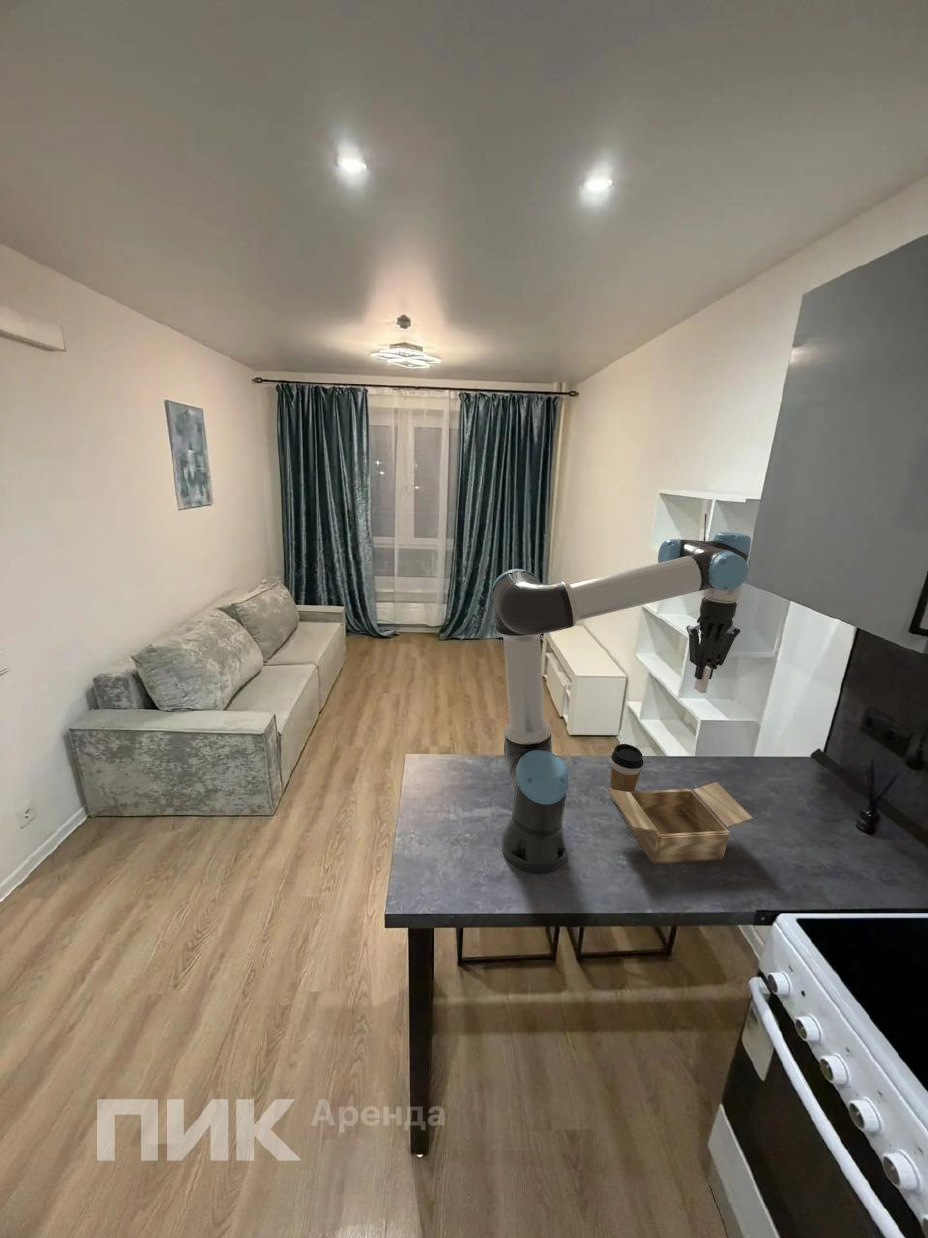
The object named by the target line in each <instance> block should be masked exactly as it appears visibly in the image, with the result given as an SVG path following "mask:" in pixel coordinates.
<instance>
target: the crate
mask: <svg viewBox="0 0 928 1238" xmlns="http://www.w3.org/2000/svg"><path fill="white" fill-rule="evenodd" d="M630 793H631V794H632V795H633V797H634V798H635V800H636V801H637V802H638V804H639V805H640V807H641V808H642V809H643V811H644V812H645V814H646V815H647V816H648V818H649V819H650V820H651V822H652V823H653V825H654V826H655V827H656V829H657V830H658V831H657V832H654V831H647V830H641V829H634V828H632V827H631V825H630V824H629V822H628V821H627V819H626V818H625V816H624V815H623V816H622V819H623V821H624V822H625V823H626V825H627V827H628V829H629V830H630V831H631V833H632V834H633V836H634V838H635V839H636V841H637V842H638V844H639V845H640V847H641V848H642V850H643V851H644V853H645V855H646V856H647V858H648V859H649V861H650V863H652V865H665V864H680V863H681V864H683V863H695V862H696V863H697V862H710V861H711V862H713V861H723V860H724V857H725V852H726V849H727V845H728V843H729V839H730V834H731V831H730V830H728V829H729V828H727V827H726V826H725V825H724V824H723V822H722V821H721V820H720V819H719V818H718V817H717V816H716V815H715V814H714V813H713V812H712V810H711V809H710V808H709V807H708V806H707V805H706V804H705V803H704V802H703V801H702V800H701V798H700V797H699V796H698V795H697V794H696V793H695V792H694V791H693V790H692V789H689V788H681V789H680V788H679V789H677V788H676V789H660V790H658V789H657V790H656V789H655V790H638V791H637V790H634V791H630Z"/></svg>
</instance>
